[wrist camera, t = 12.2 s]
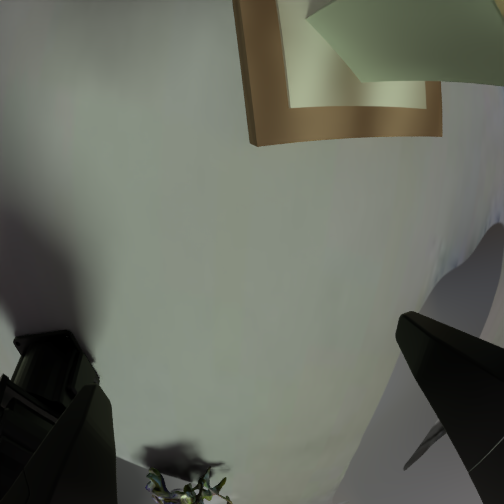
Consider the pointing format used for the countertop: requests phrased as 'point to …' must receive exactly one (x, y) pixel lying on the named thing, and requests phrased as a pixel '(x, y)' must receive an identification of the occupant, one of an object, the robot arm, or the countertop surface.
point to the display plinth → (318, 83)
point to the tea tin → (417, 39)
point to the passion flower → (186, 500)
